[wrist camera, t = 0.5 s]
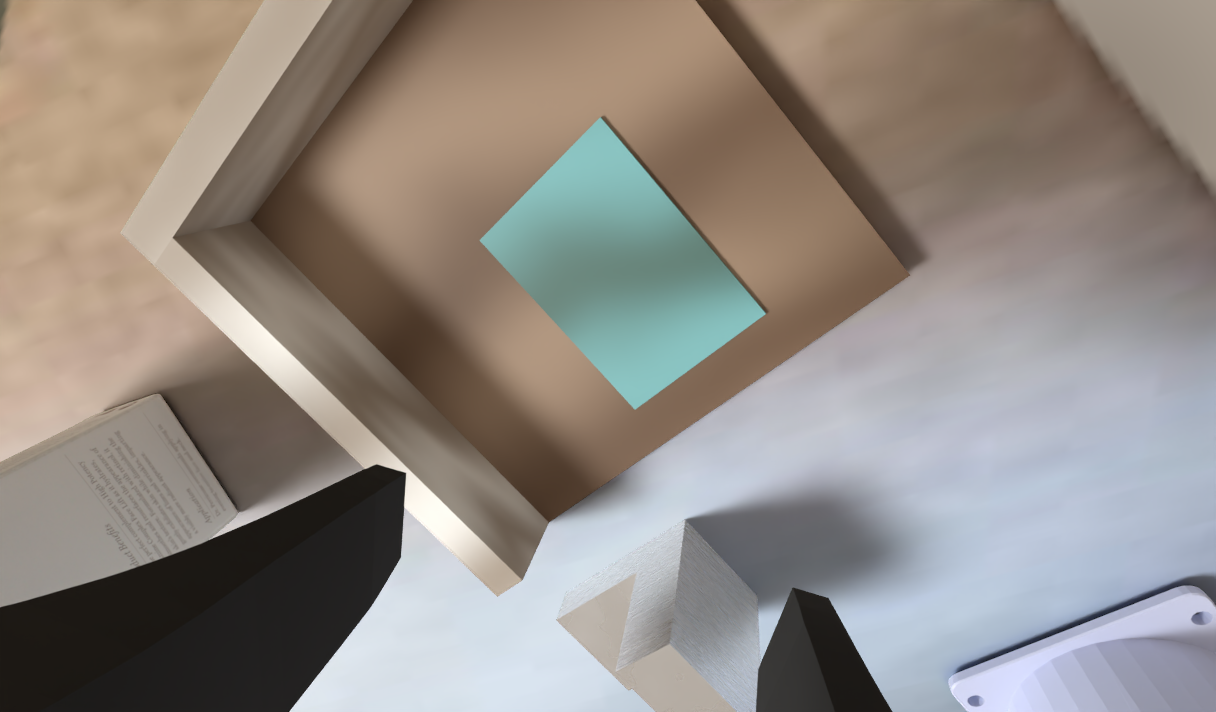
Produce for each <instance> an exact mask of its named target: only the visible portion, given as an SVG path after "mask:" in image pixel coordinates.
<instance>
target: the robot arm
mask: <svg viewBox="0 0 1216 712" xmlns="http://www.w3.org/2000/svg"><path fill="white" fill-rule="evenodd" d="M405 485H406V473H405V472H401V471H398V470H394V469H391V468H388V467H384V466H381V465H378V464H376V465H373V466H371V467H369V468H366V469H364V470H362V471H360V472H358V473H356V474H354V475H351V476H349V477H347V478H345V479H343V480H341V481H339V482H337V483H335V484H333V485H331V486H329V487H327V488H324V489H322V490H320V491H318V492H316V493H314V494H312V495H310V496H308V497H306V498H303V499H301V500H299V501H297V502H295V503H293V504H291V505H288V506H286V507H284V508H282V509H280V510H278V511H276V512H274V513H271V514H269V515H267V516H265V517H263V518H260V519H258V520H255V521H253V522H251V523H248V524H246V525H244V526H241V527H239V528H237V529H234V530H232V531H229V532H227V533H225V534H222V535H220V536H218V537H215V538H213V539H211V540H208V541H206V542H203V543H201V544H199V545H196V546H193V547H191V548H188V549H186V550H183V551H180V552H178V553H175V554H172V555H170V556H167V557H164V558H161V559H159V560H156V561H153V562H150V563H147V564H144V565H141V566H138V567H135V568H132V569H129V570H127V571H124V572H121V573H118V574H114V575H111V576H108V577H105V578H102V579H98V580H95V581H92V582H88V583H85V584H81V585H78V586H74V587H71V588H67V589H64V590H61V591H57V592H54V593H50V594H47V595H43V596H40V597H36V598H33V599H30V600H26V601H22V602H19V603H15V604H11V605H7V606H3V607H0V712H289V711H290V710H291V709H292V707H293V706H294V705H295V703H296V702H297V701H298V700H299V698H300V697H301V696H302V695H303V693H304V692H305V691H306V689H307V688H308V687H309V686H310V684H311V683H312V682H313V681H314V679H315V678H316V677H317V675H318V674H319V673H320V672H321V670H322V669H323V668H324V667H325V665H326V664H327V663H328V662H329V660H330V659H331V658H332V656H333V655H334V654H335V653H336V651H337V650H338V649H339V648H340V646H341V645H342V644H343V642H344V641H345V640H346V639H347V637H348V636H349V635H350V633H351V632H352V631H353V629H354V628H355V627H356V626H357V624H358V623H359V622H360V620H361V619H362V618H363V617H364V615H365V614H366V613H367V611H368V610H369V609H370V607H371V606H372V604H373V603H374V601H375V600H376V598H377V596H378V595H379V593H380V591H381V590H382V588H383V587H384V585H385V583H386V582H387V580H388V578H389V577H390V575H391V573H392V572H393V570H394V568H395V566H396V565H397V563H398V561H399V560H400V558H401V546H402V531H403V516H404V501H405ZM1197 612H1200V613H1198V614H1196V615H1194V614H1195V613H1197ZM948 684H949V687H950V690H951V692H952V694H953V696H954V697H955V698H956V699H957V700H958V701H959V702H960V704H961V705H962V706H963V707H964V708H965V709H966V710H967V711H968V712H1216V605H1215V604H1214V602H1213V601H1212V600H1211V599H1210V598H1209V597H1208V596H1207V594H1206V593H1205V592H1204V591H1202V590H1201V589H1200V588H1198V587H1195V586H1180V587H1176V588H1173V589H1171V590H1168V591H1166V592H1163V593H1160V594H1158V595H1155V596H1153V597H1150V598H1148V599H1145V600H1142V601H1140V602H1137V603H1135V604H1132V605H1130V606H1127V607H1125V608H1122V609H1119V610H1117V611H1114V612H1112V613H1109V614H1107V615H1104V616H1101V617H1099V618H1096V619H1094V620H1091V621H1089V622H1086V623H1084V624H1081V625H1078V626H1076V627H1073V628H1071V629H1068V630H1066V631H1063V632H1060V633H1058V634H1055V635H1053V636H1050V637H1048V638H1045V639H1043V640H1040V641H1037V642H1035V643H1032V644H1030V645H1027V646H1025V647H1022V648H1019V649H1017V650H1014V651H1012V652H1009V653H1007V654H1004V655H1002V656H999V657H996V658H994V659H991V660H989V661H986V662H984V663H981V664H978V665H976V666H973V667H971V668H968V669H966V670H963V671H961V672H958V673H956V674H954V675H952V676H951V677H950V679H949V683H948ZM975 695H977V696H975ZM756 712H892V710H891V709H890V707H889V705H888V704H887V702H886V700H885V699H884V697H883V695H882V694H881V692H880V690H879V688H878V687H877V685H876V683H875V681H874V680H873V678H872V676H871V674H870V673H869V671H868V669H867V667H866V665H865V664H864V662H863V660H862V658H861V656H860V655H859V653H858V651H857V649H856V647H855V646H854V644H853V642H852V640H851V638H850V636H849V635H848V633H847V631H846V629H845V627H844V625H843V624H842V622H841V620H840V618H839V616H838V614H837V613H836V611H835V609H834V607H833V606H832V604H831V602H830V600H829V598H826V597H823V596H819V595H816V594H813V593H809V592H806V591H803V590H799V589H796V588H792V591H791V593H790V595H789V598H788V600H787V602H786V605H785V607H784V610H783V612H782V614H781V617H780V619H779V621H778V624H777V626H776V628H775V631H774V633H773V636H772V638H771V640H770V643H769V645H768V647H767V650H766V652H765V655H764V657H763V659H762V662H761V664H760V666H759V669H758V681H757V698H756Z"/></svg>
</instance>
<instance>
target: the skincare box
mask: <svg viewBox="0 0 1216 712" xmlns="http://www.w3.org/2000/svg"><path fill="white" fill-rule="evenodd" d="M237 514H238V512H237V510H236V508H235V507H234V505H233V504H232V502H231V500H230V499H229V497H228V496H227V494H226V493H225V491H224V490H223V488H222V487H221V485H220V484H219V482H218V481H217V479H216V478H215V476H214V475H213V473H212V472H211V470H210V469H209V467H208V465H207V464H206V462H205V461H204V459H203V458H202V456H201V455H200V453H199V452H198V450H197V449H196V447H195V446H194V444H193V443H192V441H191V440H190V438H189V437H188V435H187V434H186V432H185V430H184V429H183V427H182V426H181V424H180V423H179V421H178V420H177V418H176V417H175V415H174V414H173V412H172V411H171V409H170V408H169V406H168V405H167V403H166V402H165V400H164V399H163V397H162V396H161V395H160V394H153V395H150V396H148V397H145V398H142V399H139V400H136V401H133V402H130V403H127V404H124V405H121V406H118V407H115V408H113V409H110V410H107V411H104V412H101V413H99V414H96V415H94V416H91V417H89V418H87V419H86V420H84V421H82V422H80V423H78V424H76V425H75V426H73V427H71V428H69V429H67V430H65V431H63V432H61V433H59V434H57V435H55V436H53V437H51V438H48V439H46V440H44V441H42V442H40V443H38V444H36V445H34V446H32V447H30V448H28V449H26V450H24V451H22V452H20V453H18V454H16V455H14V456H12V457H10V458H8V459H6V460H4V461H2V462H0V607H3V606H7V605H11V604H15V603H19V602H22V601H26V600H30V599H33V598H36V597H40V596H43V595H47V594H50V593H54V592H57V591H61V590H64V589H67V588H71V587H74V586H78V585H81V584H85V583H88V582H92V581H95V580H98V579H102V578H105V577H108V576H111V575H114V574H118V573H121V572H124V571H127V570H129V569H132V568H135V567H138V566H141V565H144V564H147V563H150V562H153V561H156V560H159V559H161V558H164V557H167V556H170V555H172V554H175V553H178V552H180V551H183V550H186V549H188V548H191V547H193V546H196V545H199V544H201V543H203V542H206V541H208V540H209V539H210V538H212V537H213V536H214V535H215V534H216V533H217V532H219V531H220V530H221V529H222V528H224V527H225V526H226V525H227V524H228V523H229V522H231V521H232V520H233V519H234V518H235V517H236V516H237Z"/></svg>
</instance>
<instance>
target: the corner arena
mask: <svg viewBox="0 0 1216 712" xmlns="http://www.w3.org/2000/svg"><path fill="white" fill-rule="evenodd" d="M121 234H122V235H123V236H124V237H125V238H126V239H127V240H128V241H129V242H130V243H131V244H132V245H133V246H134V247H135V248H136V249H137V250H138V251H139V252H140V253H141V254H142V255H144V256H145V257H146V258H147V259H148V260H149V261H150V262H151V263H152V264H153V265H154V266H155V267H156V268H157V269H158V270H159V271H160V272H161V273H162V274H163V275H164V276H165V277H166V278H167V279H168V280H169V281H170V282H172V283H173V284H174V285H175V286H176V287H177V288H178V289H179V290H180V291H181V292H182V293H183V294H184V295H185V296H186V297H187V298H188V299H189V300H190V301H191V302H192V303H193V304H194V305H195V306H196V307H197V308H199V309H200V310H201V311H202V312H203V313H204V314H205V315H206V316H207V317H208V318H209V319H210V320H211V321H212V322H213V323H214V324H215V325H216V326H217V327H218V328H219V329H220V330H221V331H222V332H223V333H224V334H225V335H227V336H228V337H229V338H230V339H231V340H232V341H233V342H234V343H235V344H236V345H237V346H238V347H239V348H240V349H241V350H242V351H243V352H244V353H245V354H246V355H247V356H248V357H249V358H250V359H251V360H252V361H253V362H255V363H256V364H257V365H258V366H259V367H260V368H261V369H262V370H263V371H264V372H265V373H266V374H267V375H268V376H269V377H270V378H271V379H272V380H273V381H274V382H275V383H276V384H277V385H278V386H279V387H280V388H281V389H283V390H284V391H285V392H286V393H287V394H288V395H289V396H290V397H291V398H292V399H293V400H294V401H295V402H296V403H297V404H298V405H299V406H300V407H301V408H302V409H303V410H304V411H305V412H306V413H307V414H308V415H309V416H311V417H312V418H313V419H314V420H315V421H316V422H317V423H318V424H319V425H320V426H321V427H322V428H323V429H324V430H325V431H326V432H327V433H328V434H329V435H330V436H331V437H332V438H333V439H334V440H335V441H336V442H337V443H339V444H340V445H341V446H342V447H343V448H344V449H345V450H346V451H347V452H348V453H349V454H350V455H351V456H352V457H353V458H354V459H355V460H356V461H357V462H358V463H359V464H360V465H361V466H362V467H363V468H364V469H366V468H369V467H371V466H373V465H376V464H378V465H381V466H384V467H388V468H391V469H394V470H398V471H401V472H405V473H406V485H405V501H404V507H405V508H406V509H407V510H408V511H409V512H410V513H411V514H412V515H413V516H414V517H415V518H416V519H417V520H418V521H419V522H420V523H422V524H423V525H424V526H425V527H426V528H427V529H428V530H429V531H430V532H431V533H432V534H433V535H434V536H435V537H436V538H437V539H438V540H439V541H440V542H441V543H442V544H443V545H444V546H445V547H446V548H447V549H448V550H450V551H451V552H452V553H453V554H454V555H455V556H456V557H457V558H458V559H459V560H460V561H461V562H462V563H463V564H464V565H465V566H466V567H467V568H468V569H469V570H470V571H471V572H472V573H473V574H474V575H475V576H476V577H478V578H479V579H480V580H481V581H482V582H483V583H484V584H485V585H486V586H487V587H488V588H489V589H490V590H491V591H492V592H493V593H494V594H495V595H496V596H499V595H500V594H502V593H504V592H505V591H507V590H508V589H510V588H511V587H513V586H514V585H516V584H517V583H519V582H521V581H522V580H523V578H524V576H525V573H526V571H527V569H528V567H529V565H530V563H531V560H532V558H533V556H534V554H535V552H536V549H537V547H538V545H539V543H540V541H541V538H542V536H543V534H544V532H545V530H546V528H547V525H548V523H549V522H550V521H552V520H553V519H555V518H556V517H557V516H559V515H560V514H562V513H563V512H565V511H566V510H568V509H569V508H571V507H572V506H574V505H575V504H576V503H578V502H579V501H581V500H582V499H584V498H585V497H587V496H588V495H590V494H591V493H593V492H594V491H595V490H597V489H598V488H600V487H601V486H603V485H604V484H606V483H607V482H609V481H610V480H612V479H613V478H614V477H616V476H617V475H619V474H620V473H622V472H623V471H625V470H626V469H628V468H629V467H631V466H632V465H633V464H635V463H636V462H638V461H639V460H641V459H642V458H644V457H645V456H647V455H648V454H650V453H651V452H652V451H654V450H655V449H657V448H658V447H660V446H661V445H663V444H664V443H666V442H667V441H669V440H670V439H671V438H673V437H674V436H676V435H677V434H679V433H680V432H682V431H683V430H685V429H686V428H688V427H689V426H690V425H692V424H693V423H695V422H696V421H698V420H699V419H701V418H702V417H704V416H705V415H707V414H708V413H709V412H711V411H712V410H714V409H715V408H717V407H718V406H720V405H721V404H723V403H724V402H726V401H727V400H728V399H730V398H731V397H733V396H734V395H736V394H737V393H739V392H740V391H742V390H743V389H745V388H746V387H747V386H749V385H750V384H752V383H753V382H755V381H756V380H758V379H759V378H761V377H762V376H764V375H765V374H766V373H768V372H769V371H771V370H772V369H774V368H775V367H777V366H778V365H780V364H781V363H783V362H784V361H785V360H787V359H788V358H790V357H791V356H793V355H794V354H796V353H797V352H799V351H800V350H802V349H803V348H804V347H806V346H807V345H809V344H810V343H812V342H813V341H815V340H816V339H818V338H819V337H821V336H822V335H823V334H825V333H826V332H828V331H829V330H831V329H832V328H834V327H835V326H837V325H838V324H840V323H841V322H842V321H844V320H845V319H847V318H848V317H850V316H851V315H853V314H854V313H856V312H857V311H859V310H860V309H861V308H863V307H864V306H866V305H867V304H869V303H870V302H872V301H873V300H875V299H876V298H878V297H879V296H880V295H882V294H883V293H885V292H886V291H888V290H889V289H891V288H892V287H894V286H895V285H897V284H898V283H899V282H901V281H902V280H904V279H905V278H907V277H908V276H910V274H909V273H908V272H907V270H906V269H905V268H904V267H903V265H902V264H901V263H900V262H899V260H898V259H897V258H896V256H895V255H894V254H893V253H892V251H891V250H890V249H889V247H888V246H887V245H886V244H885V242H884V241H883V240H882V238H881V237H880V236H879V235H878V233H877V232H876V231H875V230H874V228H873V227H872V226H871V224H870V223H869V222H868V221H867V219H866V218H865V217H864V215H863V214H862V213H861V212H860V210H859V209H858V208H857V206H856V205H855V204H854V203H853V201H852V200H851V199H850V198H849V196H848V195H847V194H846V192H845V191H844V190H843V189H842V187H841V186H840V185H839V183H838V182H837V181H836V180H835V178H834V177H833V176H832V174H831V173H830V172H829V171H828V169H827V168H826V167H825V165H824V164H823V163H822V162H821V160H820V159H819V158H818V157H817V155H816V154H815V153H814V151H813V150H812V149H811V148H810V146H809V145H808V144H807V142H806V141H805V140H804V139H803V137H802V136H801V135H800V133H799V132H798V131H797V130H796V128H795V127H794V126H793V125H792V123H791V122H790V121H789V119H788V118H787V117H786V116H785V114H784V113H783V112H782V110H781V109H780V108H779V107H778V105H777V104H776V103H775V101H774V100H773V99H772V98H771V96H770V95H769V94H768V93H767V91H766V90H765V89H764V87H763V86H762V85H761V84H760V82H759V81H758V80H757V78H756V77H755V76H754V75H753V73H752V72H751V71H750V69H749V68H748V67H747V66H746V64H745V63H744V62H743V61H742V59H741V58H740V57H739V55H738V54H737V53H736V52H735V50H734V49H733V48H732V46H731V45H730V44H729V43H728V41H727V40H726V39H725V37H724V36H723V35H722V34H721V32H720V31H719V30H718V29H717V27H716V26H715V25H714V23H713V22H712V21H711V20H710V18H709V17H708V16H707V14H706V13H705V12H704V11H703V9H702V8H701V7H700V5H699V4H698V3H697V2H696V0H264V1H263V3H262V5H261V6H260V8H259V9H258V11H257V13H256V14H255V16H254V18H253V19H252V21H251V22H250V24H249V26H248V27H247V29H246V30H245V32H244V34H243V35H242V37H241V39H240V40H239V42H238V43H237V45H236V47H235V48H234V50H233V52H232V53H231V55H230V56H229V58H228V60H227V61H226V63H225V64H224V66H223V68H222V69H221V71H220V73H219V74H218V76H217V77H216V79H215V81H214V82H213V84H212V85H211V87H210V89H209V90H208V92H207V94H206V95H205V97H204V98H203V100H202V102H201V103H200V105H199V106H198V108H197V110H196V111H195V113H194V115H193V116H192V118H191V119H190V121H189V123H188V124H187V126H186V127H185V129H184V131H183V132H182V134H181V136H180V137H179V139H178V140H177V142H176V144H175V145H174V147H173V148H172V150H171V152H170V153H169V155H168V157H167V158H166V160H165V161H164V163H163V165H162V166H161V168H160V170H159V171H158V173H157V174H156V176H155V178H154V179H153V181H152V182H151V184H150V186H149V187H148V189H147V191H146V192H145V194H144V195H143V197H142V199H141V200H140V202H139V203H138V205H137V207H136V208H135V210H134V212H133V213H132V215H131V216H130V218H129V220H128V221H127V223H126V224H125V226H124V228H123V229H122V231H121Z"/></svg>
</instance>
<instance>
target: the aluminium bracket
mask: <svg viewBox="0 0 1216 712" xmlns="http://www.w3.org/2000/svg"><path fill="white" fill-rule="evenodd" d="M556 620H557V621H558V622H559V623H560V624H561V625H562V626H563V627H564V628H565V629H566V630H567V631H568V632H569V633H570V634H571V635H572V636H573V637H574V638H575V639H576V640H577V641H578V642H579V643H580V644H581V645H582V646H583V647H584V648H585V649H586V650H587V651H588V652H590V653H591V654H592V655H593V656H594V657H595V658H596V659H597V660H598V661H599V662H600V663H601V664H602V665H603V666H604V667H605V668H606V669H607V670H608V671H609V672H610V673H611V674H612V675H613V676H614V677H615V678H616V679H617V680H618V681H619V682H620V683H621V684H622V685H623V686H624V687H625V688H626V689H628V690H631V689H633V690H634V691H635V692H636V693H637V694H638V695H639V696H640V697H641V698H642V699H643V700H644V701H645V702H646V703H647V704H648V705H649V706H650V707H651V708H653V709H654V710H655V711H656V712H756V698H757V681H758V669H759V666H760V642H759V620H758V598H757V595H756V594H755V593H754V592H753V591H752V590H751V589H750V587H749V586H748V585H747V584H746V583H745V582H744V581H743V580H742V579H741V578H740V577H739V576H738V575H737V574H736V573H735V572H734V570H733V569H732V568H731V567H730V566H729V565H728V564H727V563H726V562H725V561H724V560H723V559H722V558H721V557H720V556H719V555H718V554H717V552H716V551H715V550H714V549H713V548H712V547H711V546H710V545H709V544H708V543H707V542H706V541H705V540H704V539H703V538H702V537H701V535H700V534H699V533H698V532H697V531H696V530H695V529H694V528H693V527H692V526H691V525H690V524H689V523H688V522H687V521H686V520H683V521H681V522H680V523H678V524H677V525H675V526H673V527H672V528H670V529H668V530H667V531H665V532H664V533H662V534H660V535H659V536H657V537H655V538H654V539H652V540H651V541H649V542H647V543H646V544H644V545H642V546H641V547H639V548H637V549H636V550H634V551H633V552H631V553H629V554H628V555H626V556H624V557H623V558H621V559H620V560H618V561H616V562H615V563H613V564H611V565H610V566H608V567H606V568H605V569H603V570H602V571H600V572H598V573H597V574H595V575H593V576H592V577H590V578H589V579H587V580H585V581H584V582H582V583H580V584H579V585H577V586H576V587H574V588H572V589H571V590H569V591H567V592H566V594H565V597H564V600H563V602H562V605H561V608H560V611H559V614H558V617H557V619H556Z"/></svg>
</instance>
